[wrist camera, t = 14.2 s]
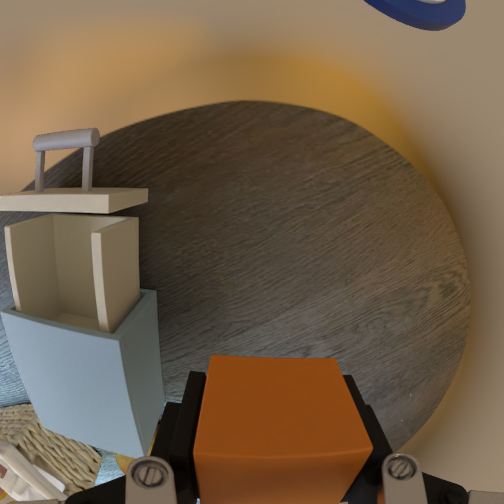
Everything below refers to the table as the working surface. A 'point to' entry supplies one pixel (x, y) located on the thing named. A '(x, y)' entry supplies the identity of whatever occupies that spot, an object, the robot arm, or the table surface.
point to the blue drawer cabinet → (93, 376)
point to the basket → (42, 458)
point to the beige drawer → (74, 245)
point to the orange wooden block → (277, 432)
